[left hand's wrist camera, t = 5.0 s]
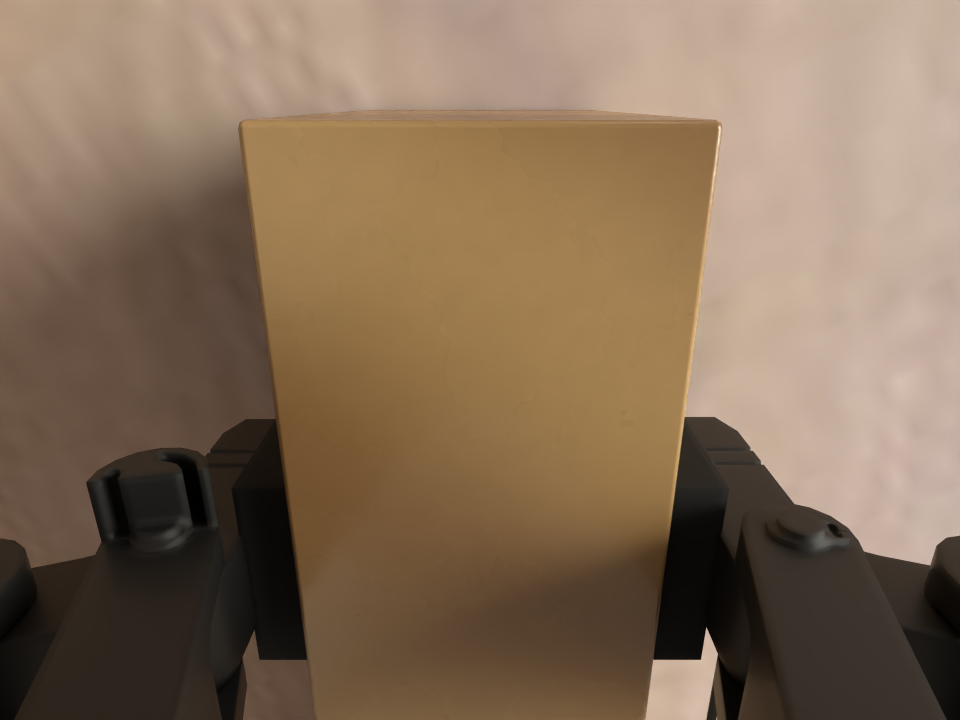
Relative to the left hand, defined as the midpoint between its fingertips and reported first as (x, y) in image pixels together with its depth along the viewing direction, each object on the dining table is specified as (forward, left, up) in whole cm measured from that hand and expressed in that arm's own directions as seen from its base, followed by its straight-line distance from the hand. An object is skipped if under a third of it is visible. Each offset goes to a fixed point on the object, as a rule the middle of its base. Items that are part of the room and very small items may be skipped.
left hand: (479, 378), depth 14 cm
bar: (+21, 0, 0) cm, 21 cm away
